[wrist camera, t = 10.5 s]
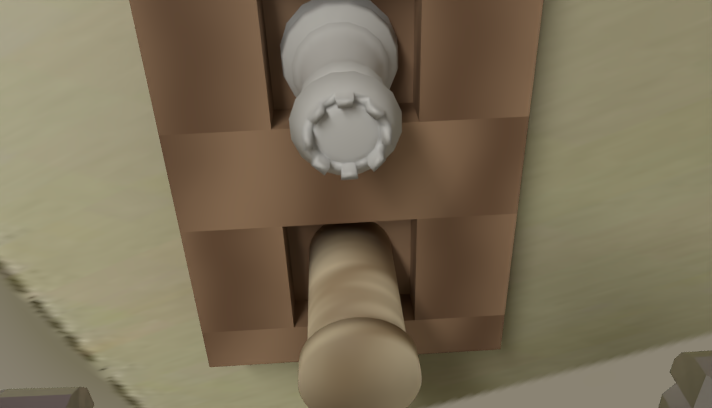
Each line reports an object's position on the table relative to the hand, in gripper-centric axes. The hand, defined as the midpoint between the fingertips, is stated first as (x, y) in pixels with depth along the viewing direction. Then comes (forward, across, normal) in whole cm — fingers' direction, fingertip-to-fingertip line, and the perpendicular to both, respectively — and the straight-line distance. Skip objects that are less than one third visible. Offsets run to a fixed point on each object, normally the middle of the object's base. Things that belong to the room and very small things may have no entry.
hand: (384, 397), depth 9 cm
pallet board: (+18, 0, +5) cm, 19 cm away
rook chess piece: (+18, 0, +1) cm, 18 cm away
